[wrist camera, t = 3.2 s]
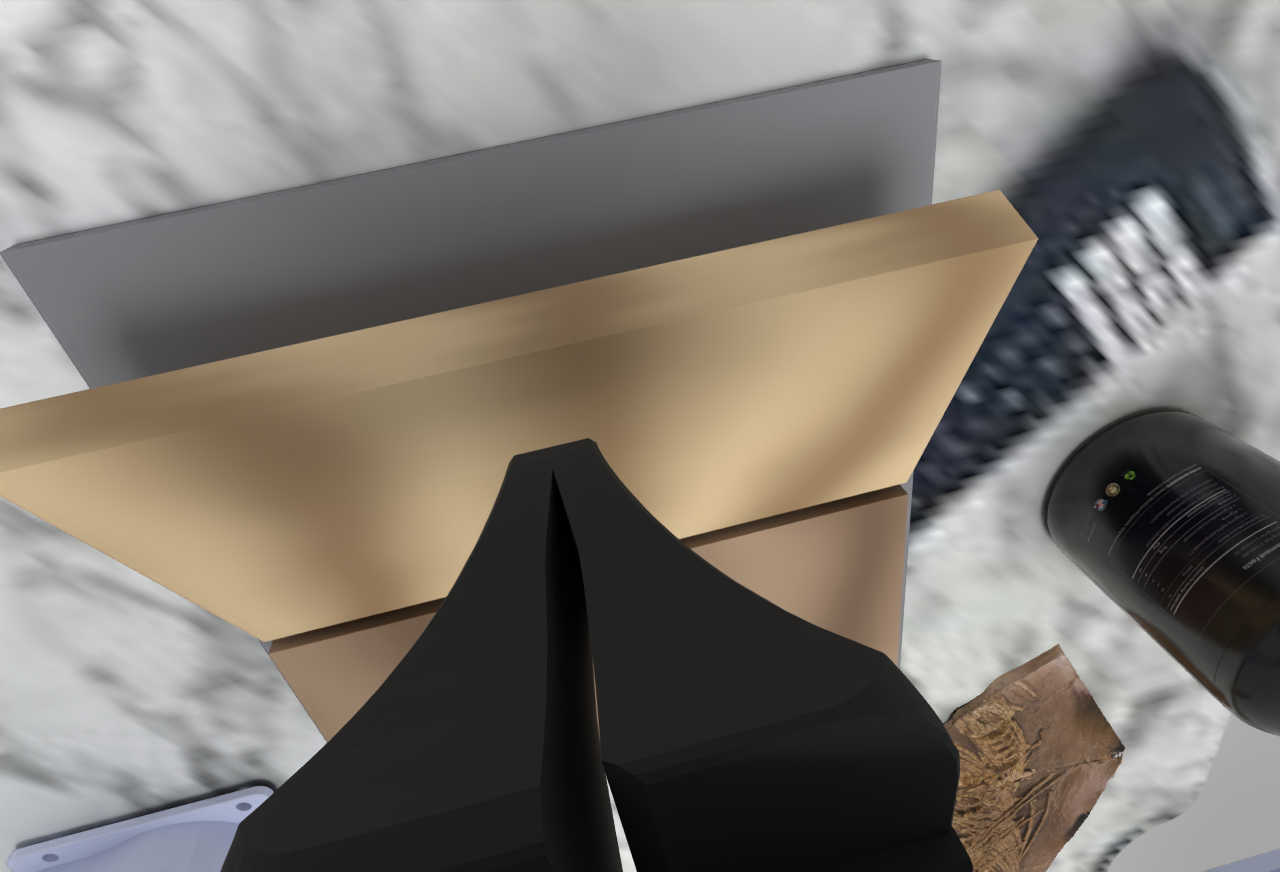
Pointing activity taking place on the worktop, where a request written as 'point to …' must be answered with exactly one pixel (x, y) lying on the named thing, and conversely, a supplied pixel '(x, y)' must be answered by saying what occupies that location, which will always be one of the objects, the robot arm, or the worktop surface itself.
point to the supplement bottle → (1184, 548)
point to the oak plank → (525, 415)
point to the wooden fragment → (1029, 765)
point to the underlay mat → (484, 226)
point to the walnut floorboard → (748, 553)
